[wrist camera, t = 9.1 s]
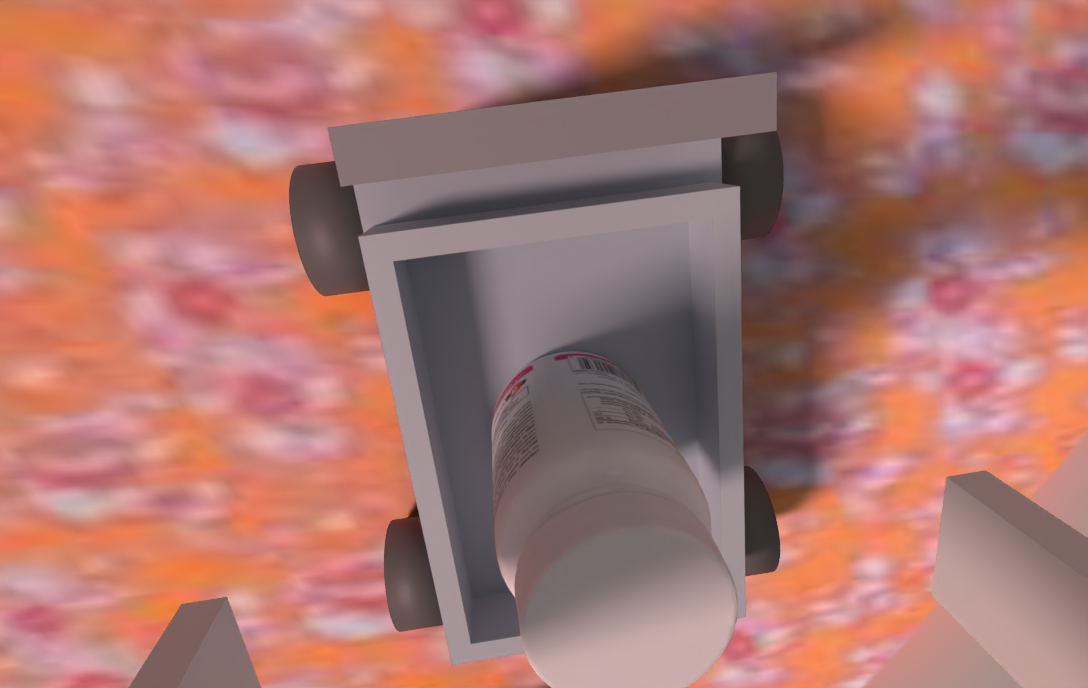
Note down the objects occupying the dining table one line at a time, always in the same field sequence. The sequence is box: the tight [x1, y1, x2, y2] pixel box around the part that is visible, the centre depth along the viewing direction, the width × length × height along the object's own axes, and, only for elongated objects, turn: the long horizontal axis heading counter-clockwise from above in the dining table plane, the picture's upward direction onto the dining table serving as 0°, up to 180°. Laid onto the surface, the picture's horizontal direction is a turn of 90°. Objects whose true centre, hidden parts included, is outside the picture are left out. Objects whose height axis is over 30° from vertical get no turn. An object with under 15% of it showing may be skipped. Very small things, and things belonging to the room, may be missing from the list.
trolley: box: [289, 72, 783, 665], centre depth 18 cm, size 18×14×10 cm
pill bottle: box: [492, 351, 738, 688], centre depth 15 cm, size 5×5×8 cm
